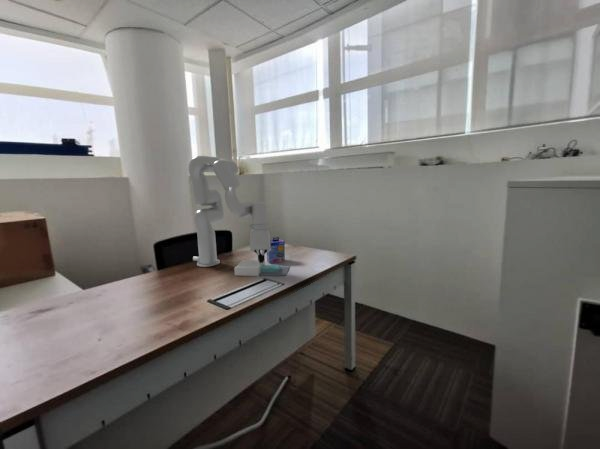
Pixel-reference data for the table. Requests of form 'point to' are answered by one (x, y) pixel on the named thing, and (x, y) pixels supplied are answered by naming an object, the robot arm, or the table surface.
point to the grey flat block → (249, 268)
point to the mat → (281, 272)
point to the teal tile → (270, 268)
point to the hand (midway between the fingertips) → (261, 262)
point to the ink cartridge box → (276, 251)
